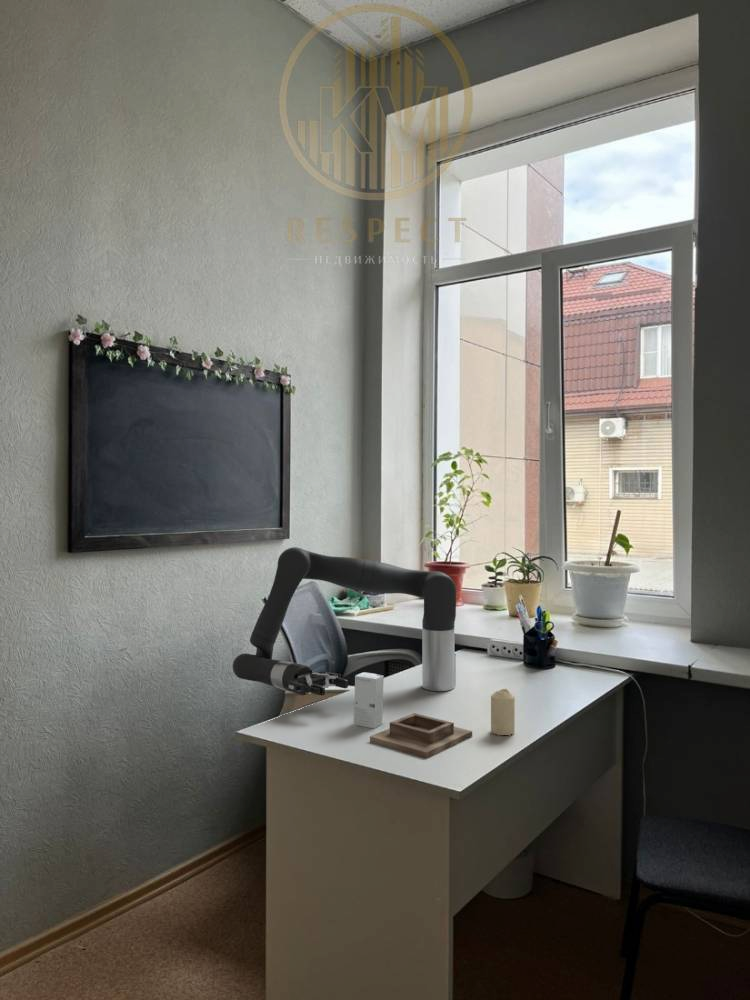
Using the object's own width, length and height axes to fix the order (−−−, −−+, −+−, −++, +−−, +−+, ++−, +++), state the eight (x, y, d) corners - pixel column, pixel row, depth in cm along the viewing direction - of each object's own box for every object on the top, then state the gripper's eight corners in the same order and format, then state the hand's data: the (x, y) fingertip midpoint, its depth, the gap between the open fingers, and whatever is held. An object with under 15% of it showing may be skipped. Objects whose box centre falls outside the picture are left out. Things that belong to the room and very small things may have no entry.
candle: (498, 726, 178) (498, 685, 178) (518, 731, 174) (518, 689, 174) (486, 732, 174) (486, 690, 173) (507, 737, 170) (507, 694, 170)
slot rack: (417, 722, 181) (417, 707, 181) (472, 736, 171) (472, 720, 171) (369, 741, 168) (369, 725, 168) (426, 758, 157) (426, 740, 157)
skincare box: (353, 725, 179) (353, 675, 179) (362, 719, 183) (362, 671, 183) (375, 729, 176) (375, 678, 176) (384, 723, 180) (384, 674, 180)
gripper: (271, 668, 192) (316, 678, 181) (310, 658, 202) (354, 667, 192) (271, 696, 192) (316, 708, 181) (310, 685, 203) (354, 696, 192)
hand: (335, 687), depth 187 cm, fingers open, 8 cm apart
